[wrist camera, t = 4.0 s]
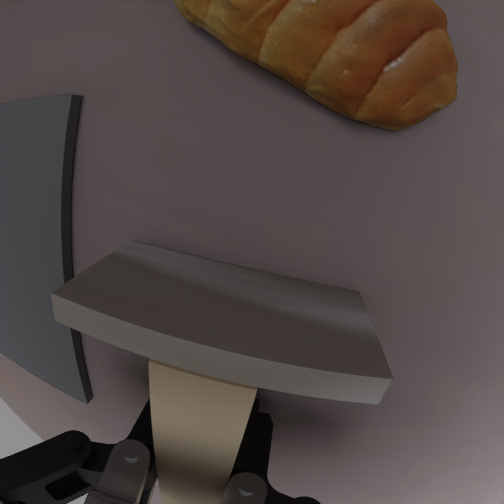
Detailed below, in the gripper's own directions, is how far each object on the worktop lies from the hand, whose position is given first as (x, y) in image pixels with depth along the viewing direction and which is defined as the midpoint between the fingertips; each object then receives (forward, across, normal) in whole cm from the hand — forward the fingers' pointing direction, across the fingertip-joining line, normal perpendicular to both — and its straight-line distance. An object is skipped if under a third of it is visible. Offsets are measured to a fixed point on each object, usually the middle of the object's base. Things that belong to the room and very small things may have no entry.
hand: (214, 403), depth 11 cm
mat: (+1, +12, -4) cm, 13 cm away
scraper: (+1, 0, 0) cm, 1 cm away
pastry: (+1, 0, -16) cm, 16 cm away
